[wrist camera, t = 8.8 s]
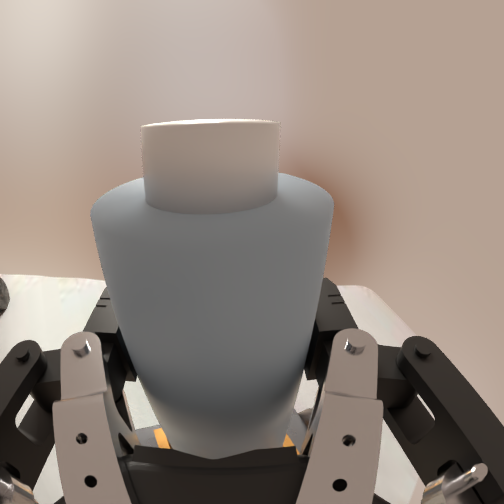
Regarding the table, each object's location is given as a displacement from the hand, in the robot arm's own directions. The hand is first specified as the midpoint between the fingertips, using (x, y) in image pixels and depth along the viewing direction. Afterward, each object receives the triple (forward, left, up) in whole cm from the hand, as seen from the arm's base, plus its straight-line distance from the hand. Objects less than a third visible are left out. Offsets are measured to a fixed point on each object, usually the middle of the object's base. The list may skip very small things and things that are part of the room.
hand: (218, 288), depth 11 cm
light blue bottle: (-1, -2, -8) cm, 9 cm away
